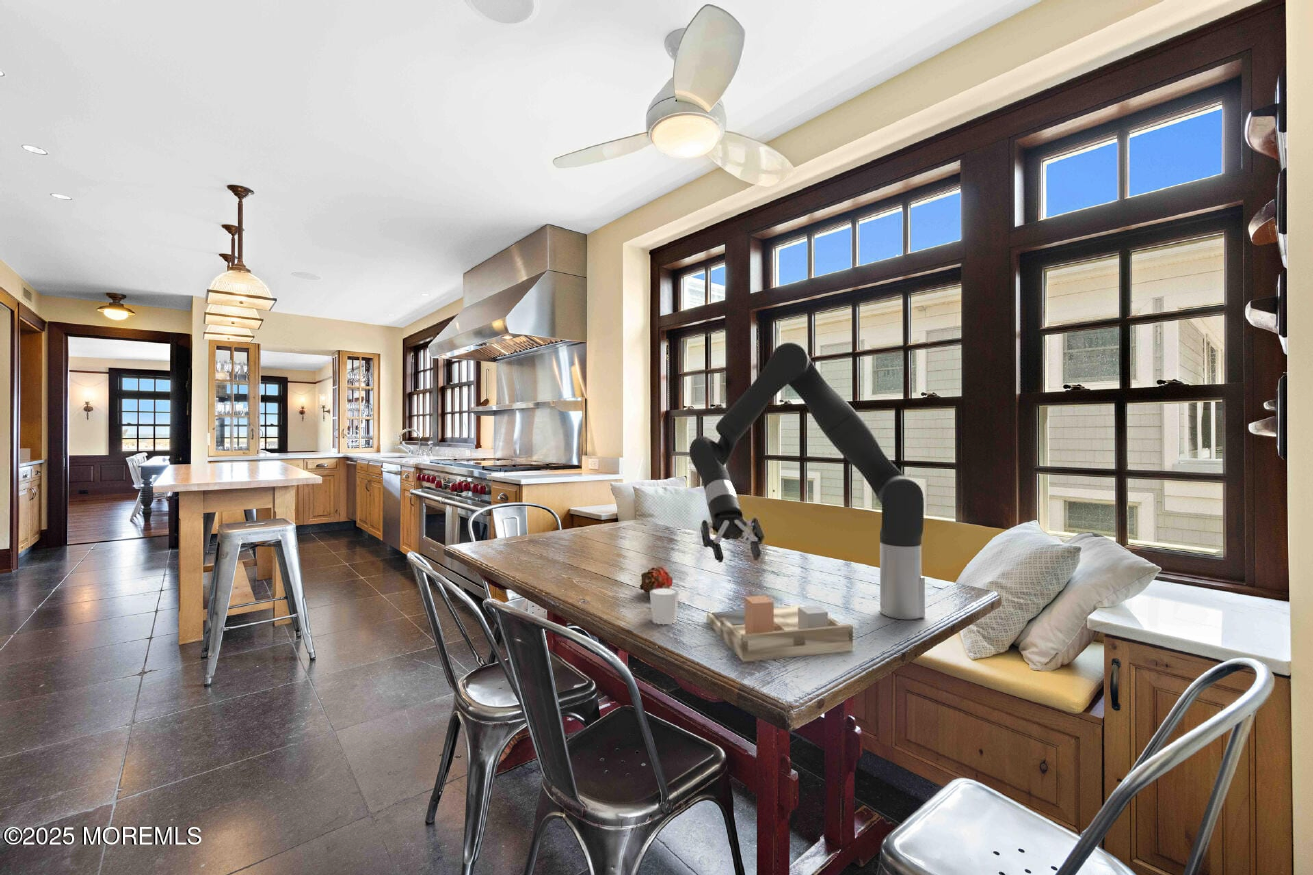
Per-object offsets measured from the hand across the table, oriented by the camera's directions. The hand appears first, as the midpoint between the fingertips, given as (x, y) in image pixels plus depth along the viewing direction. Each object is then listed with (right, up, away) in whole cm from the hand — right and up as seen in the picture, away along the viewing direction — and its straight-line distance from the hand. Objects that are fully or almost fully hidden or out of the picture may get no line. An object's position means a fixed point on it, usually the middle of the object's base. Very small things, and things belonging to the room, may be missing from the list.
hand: (739, 559), depth 130 cm
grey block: (+14, -14, -9) cm, 22 cm away
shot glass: (-17, -16, +6) cm, 24 cm away
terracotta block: (+3, -14, -11) cm, 18 cm away
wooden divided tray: (+7, -16, -4) cm, 18 cm away
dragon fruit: (-19, -16, +28) cm, 37 cm away
